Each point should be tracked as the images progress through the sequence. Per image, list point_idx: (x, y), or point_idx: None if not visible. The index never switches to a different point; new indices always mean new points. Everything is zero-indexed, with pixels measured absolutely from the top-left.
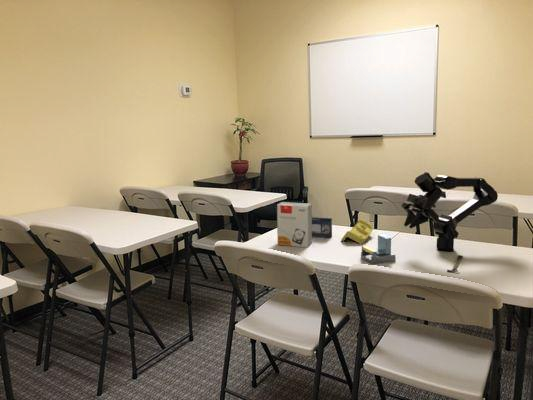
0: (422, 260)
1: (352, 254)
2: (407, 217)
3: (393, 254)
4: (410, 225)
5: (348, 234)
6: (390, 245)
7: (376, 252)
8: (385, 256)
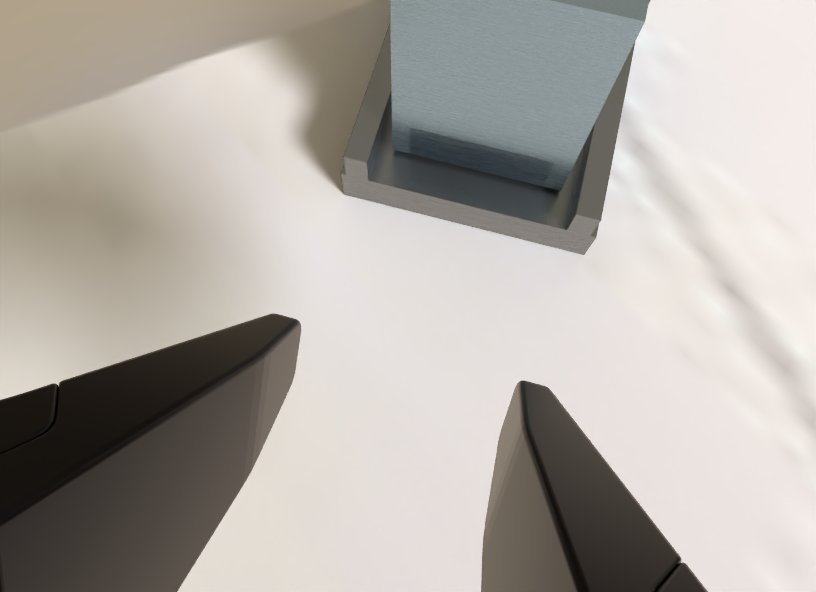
0: None
1: (766, 31)
2: (639, 573)
3: (359, 143)
4: (250, 327)
5: None
6: (392, 50)
7: None
8: (382, 48)
